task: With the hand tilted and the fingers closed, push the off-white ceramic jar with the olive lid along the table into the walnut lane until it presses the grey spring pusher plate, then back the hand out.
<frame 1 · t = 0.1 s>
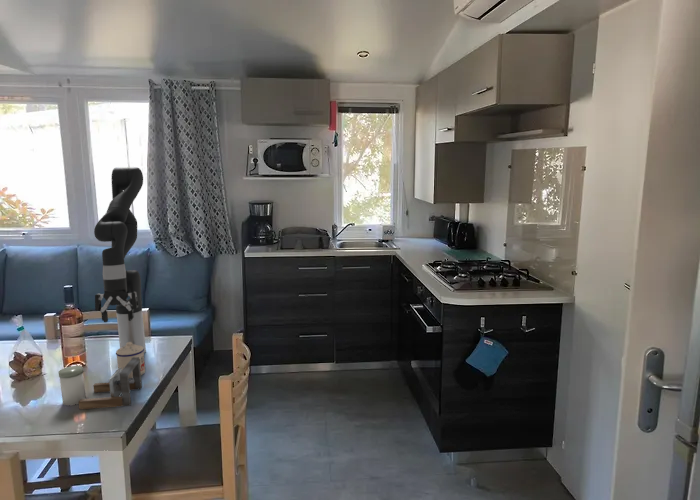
hand: (118, 321, 177), 17 cm above the table, tool pointing down, fingers open, 8 cm apart
pusher: (124, 384, 155), point 4 cm above the table, slide at 0.0 cm
jar: (74, 400, 153), on the table
lane: (109, 397, 155), on the table
teacup with lid: (133, 372, 174), on the table
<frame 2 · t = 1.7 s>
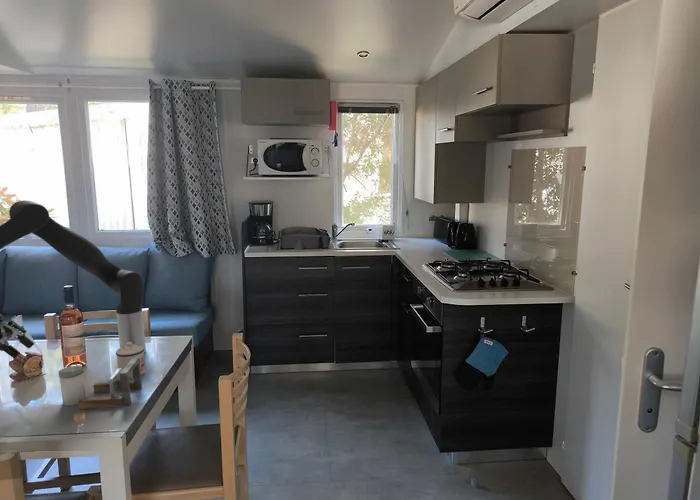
hand: (25, 350, 149), 17 cm above the table, tool tilted 45°, fingers open, 8 cm apart
nothing on the table moved.
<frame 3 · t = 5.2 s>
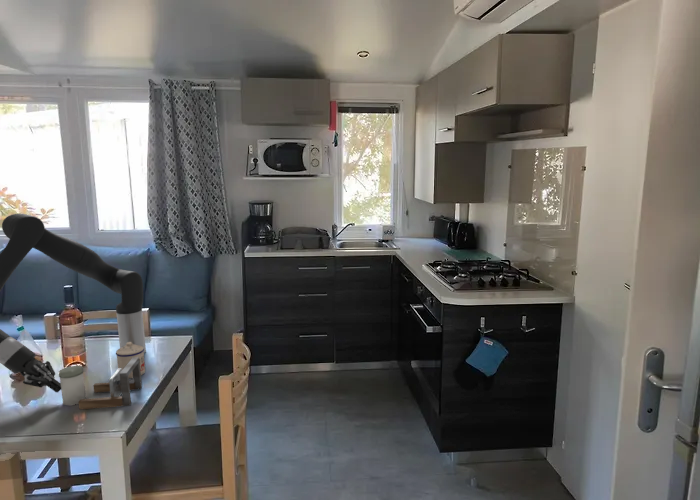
hand: (60, 389, 152), 4 cm above the table, tool tilted 45°, fingers closed
jar: (74, 400, 153), on the table, touching gripper
everything else where it was.
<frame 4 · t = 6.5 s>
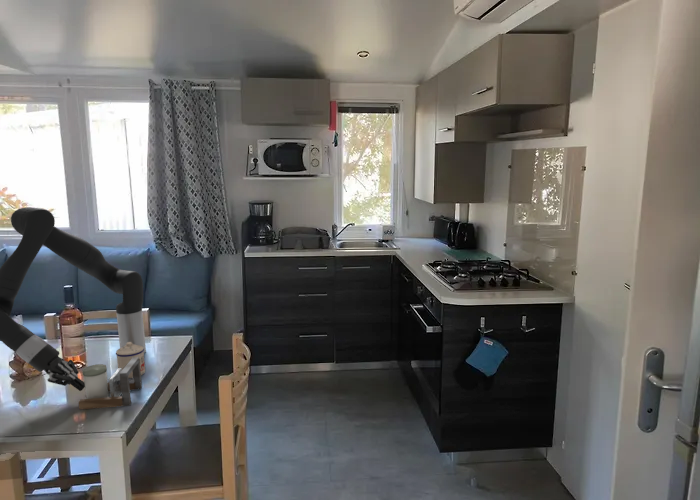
hand: (83, 388, 153), 4 cm above the table, tool tilted 45°, fingers closed
jar: (97, 399, 154), on the table, touching gripper
everything else where it was.
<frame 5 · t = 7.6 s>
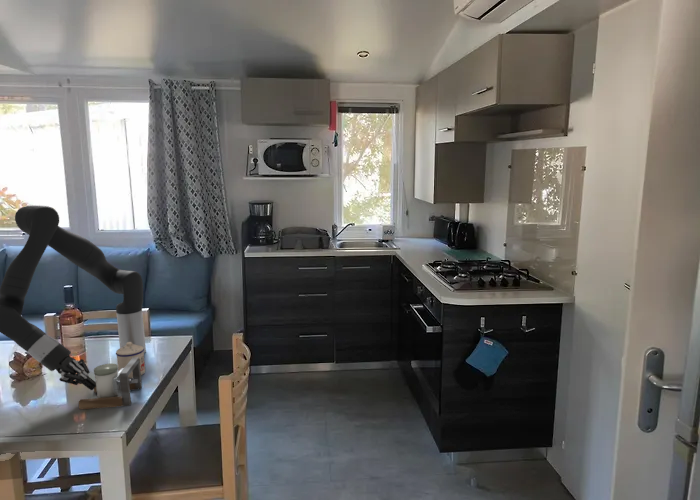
hand: (94, 387, 153), 4 cm above the table, tool tilted 45°, fingers closed
pusher: (127, 383, 155), point 4 cm above the table, slide at 1.0 cm, touching jar
jar: (109, 398, 155), on the table, touching gripper, pusher
everything else where it was.
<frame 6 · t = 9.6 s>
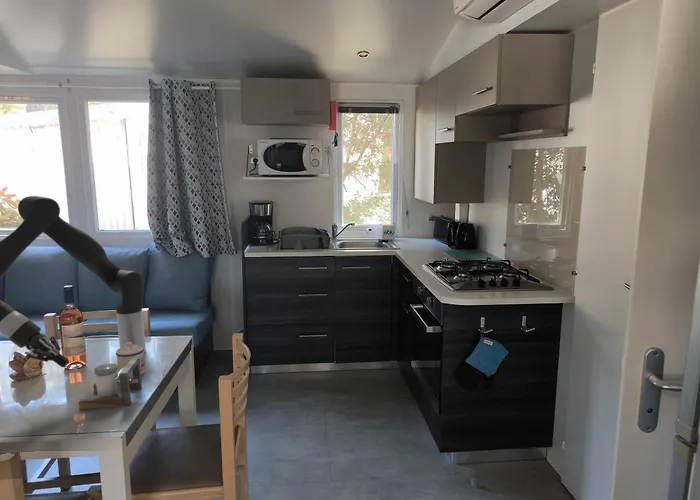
hand: (66, 364, 151), 12 cm above the table, tool tilted 45°, fingers closed
pusher: (128, 383, 155), point 4 cm above the table, slide at 1.2 cm
jar: (109, 398, 155), on the table
everything else where it was.
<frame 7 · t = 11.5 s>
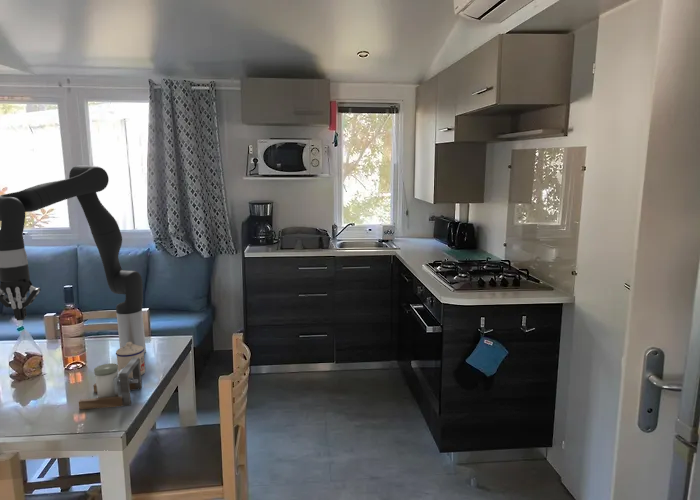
hand: (21, 319, 149), 27 cm above the table, tool pointing down, fingers closed
nothing on the table moved.
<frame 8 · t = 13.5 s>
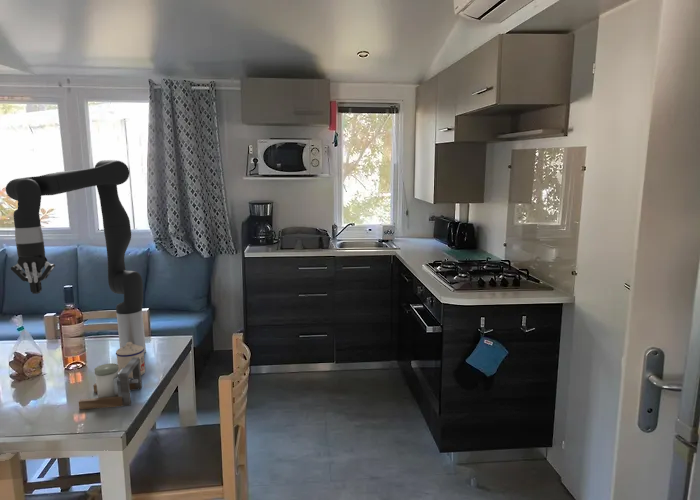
hand: (36, 293, 160), 32 cm above the table, tool pointing down, fingers closed
nothing on the table moved.
at the end: jar inside the target area (1.5 cm from its centre), on the table; jar tilted 0° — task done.
